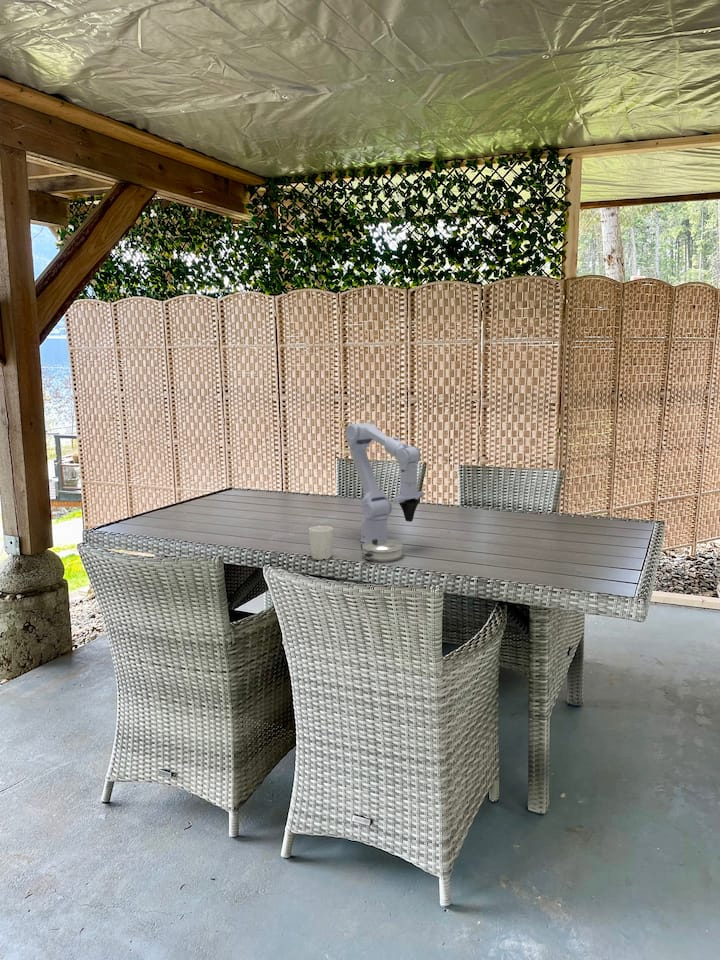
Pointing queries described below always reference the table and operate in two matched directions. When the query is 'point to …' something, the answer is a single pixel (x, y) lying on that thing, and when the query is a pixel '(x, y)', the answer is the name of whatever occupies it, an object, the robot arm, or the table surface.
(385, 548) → the lid
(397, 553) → the grey flat round piece
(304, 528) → the table surface
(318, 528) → the white cup
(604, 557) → the table surface
